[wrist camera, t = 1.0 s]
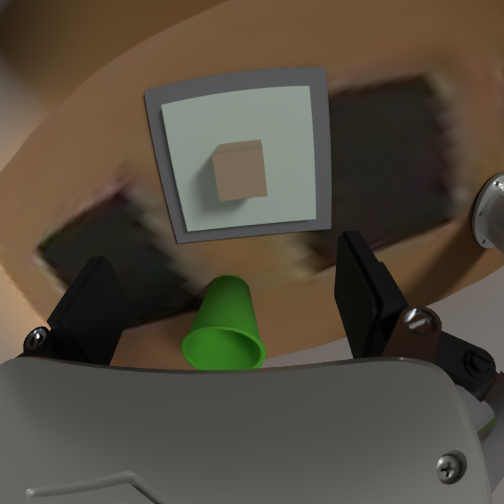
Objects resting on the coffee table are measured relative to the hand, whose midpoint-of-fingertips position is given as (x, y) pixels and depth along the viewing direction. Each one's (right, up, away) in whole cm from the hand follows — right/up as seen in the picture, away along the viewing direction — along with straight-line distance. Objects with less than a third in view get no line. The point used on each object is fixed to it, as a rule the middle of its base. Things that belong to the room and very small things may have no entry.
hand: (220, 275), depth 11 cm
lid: (0, +10, +16) cm, 19 cm away
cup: (-2, -4, +26) cm, 27 cm away
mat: (0, +11, +17) cm, 20 cm away
